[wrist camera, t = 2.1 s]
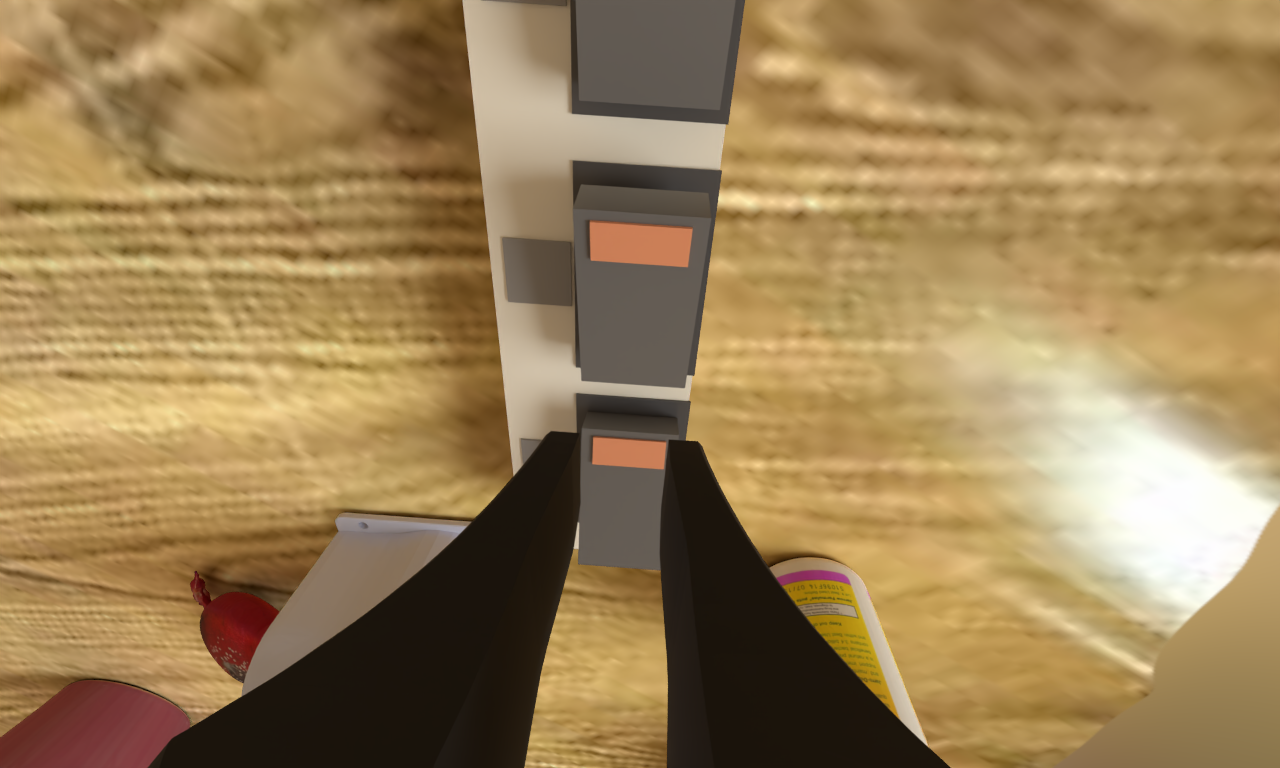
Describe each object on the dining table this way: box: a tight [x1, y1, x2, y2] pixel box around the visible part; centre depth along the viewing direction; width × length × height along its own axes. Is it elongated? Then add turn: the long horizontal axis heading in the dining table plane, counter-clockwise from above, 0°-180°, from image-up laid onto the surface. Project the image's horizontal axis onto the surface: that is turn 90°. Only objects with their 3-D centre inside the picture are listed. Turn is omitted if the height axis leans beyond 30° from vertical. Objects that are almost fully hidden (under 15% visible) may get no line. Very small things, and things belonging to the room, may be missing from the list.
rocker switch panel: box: [463, 0, 745, 549], centre depth 16 cm, size 6×25×4 cm, turn 177°
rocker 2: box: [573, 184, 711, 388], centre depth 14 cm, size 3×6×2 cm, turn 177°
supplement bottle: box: [769, 557, 930, 748], centre depth 22 cm, size 7×7×13 cm
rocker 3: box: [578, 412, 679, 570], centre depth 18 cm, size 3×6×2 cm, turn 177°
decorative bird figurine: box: [190, 571, 280, 683], centre depth 30 cm, size 3×18×10 cm
